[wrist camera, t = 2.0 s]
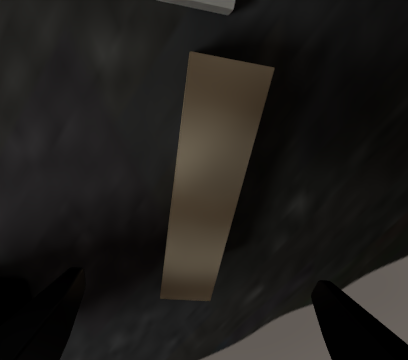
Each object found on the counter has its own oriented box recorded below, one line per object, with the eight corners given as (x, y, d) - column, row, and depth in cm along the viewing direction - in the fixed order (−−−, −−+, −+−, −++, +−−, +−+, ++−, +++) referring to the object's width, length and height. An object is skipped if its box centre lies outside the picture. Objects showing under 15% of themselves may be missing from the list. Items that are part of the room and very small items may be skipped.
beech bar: (205, 257, 20) (210, 301, 16) (165, 254, 19) (159, 298, 16) (250, 65, 13) (274, 67, 9) (189, 53, 12) (190, 51, 9)
